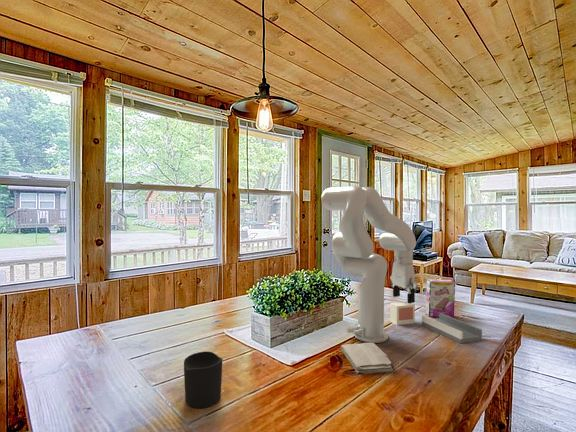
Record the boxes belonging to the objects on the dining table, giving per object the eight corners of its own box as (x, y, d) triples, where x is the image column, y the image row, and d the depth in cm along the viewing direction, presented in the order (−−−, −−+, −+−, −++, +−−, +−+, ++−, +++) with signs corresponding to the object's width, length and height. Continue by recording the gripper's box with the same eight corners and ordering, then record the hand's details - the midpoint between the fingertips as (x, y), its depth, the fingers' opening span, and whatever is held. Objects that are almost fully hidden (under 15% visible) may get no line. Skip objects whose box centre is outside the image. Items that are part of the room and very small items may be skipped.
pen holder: (224, 388, 87) (225, 351, 87) (218, 410, 78) (218, 368, 77) (189, 388, 87) (189, 351, 87) (178, 410, 77) (178, 368, 77)
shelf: (421, 324, 137) (422, 315, 137) (440, 322, 140) (441, 313, 140) (460, 343, 118) (460, 332, 118) (481, 340, 121) (481, 329, 121)
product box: (396, 325, 136) (397, 306, 136) (389, 321, 141) (390, 303, 141) (414, 323, 139) (415, 304, 139) (407, 319, 144) (407, 301, 144)
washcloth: (357, 376, 95) (357, 365, 95) (339, 350, 113) (339, 341, 113) (396, 373, 97) (396, 363, 97) (371, 348, 114) (371, 339, 114)
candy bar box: (429, 317, 147) (429, 281, 146) (425, 313, 152) (426, 278, 151) (455, 318, 146) (455, 281, 145) (450, 314, 151) (451, 279, 150)
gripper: (384, 257, 147) (384, 295, 147) (409, 264, 130) (409, 306, 131) (398, 256, 149) (398, 293, 150) (424, 262, 133) (424, 304, 133)
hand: (403, 299), depth 140 cm, fingers open, 9 cm apart
